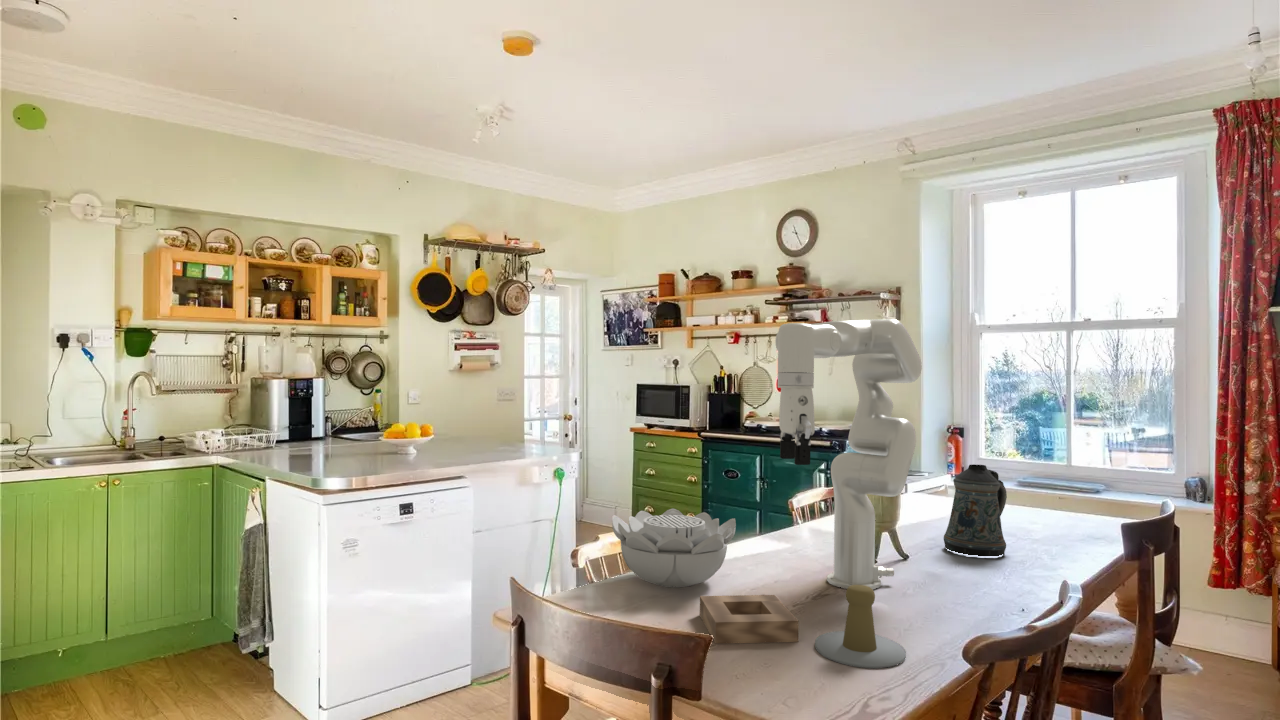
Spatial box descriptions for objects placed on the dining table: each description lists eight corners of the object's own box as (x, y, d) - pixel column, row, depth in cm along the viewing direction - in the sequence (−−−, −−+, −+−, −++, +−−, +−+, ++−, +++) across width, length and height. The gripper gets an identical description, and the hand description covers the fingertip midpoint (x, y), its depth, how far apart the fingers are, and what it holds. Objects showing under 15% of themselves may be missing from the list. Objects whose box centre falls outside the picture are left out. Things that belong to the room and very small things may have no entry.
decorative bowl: (760, 596, 168) (761, 530, 168) (635, 606, 159) (636, 536, 160) (710, 562, 197) (711, 506, 197) (602, 569, 188) (603, 510, 189)
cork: (878, 653, 133) (879, 592, 133) (843, 650, 134) (844, 589, 134) (874, 641, 139) (875, 582, 139) (841, 638, 140) (842, 580, 140)
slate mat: (882, 634, 145) (882, 630, 145) (922, 667, 129) (922, 662, 129) (803, 635, 143) (803, 631, 143) (833, 669, 127) (833, 664, 127)
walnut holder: (774, 613, 156) (774, 594, 156) (798, 641, 140) (798, 620, 140) (699, 615, 154) (699, 596, 154) (715, 643, 138) (715, 622, 138)
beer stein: (937, 553, 211) (938, 465, 212) (952, 540, 227) (953, 459, 228) (1001, 562, 202) (1002, 471, 202) (1012, 549, 218) (1013, 464, 218)
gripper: (827, 382, 150) (826, 467, 149) (799, 380, 167) (798, 456, 167) (791, 382, 149) (790, 467, 149) (766, 380, 166) (765, 456, 166)
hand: (794, 461), depth 158 cm, fingers open, 9 cm apart
